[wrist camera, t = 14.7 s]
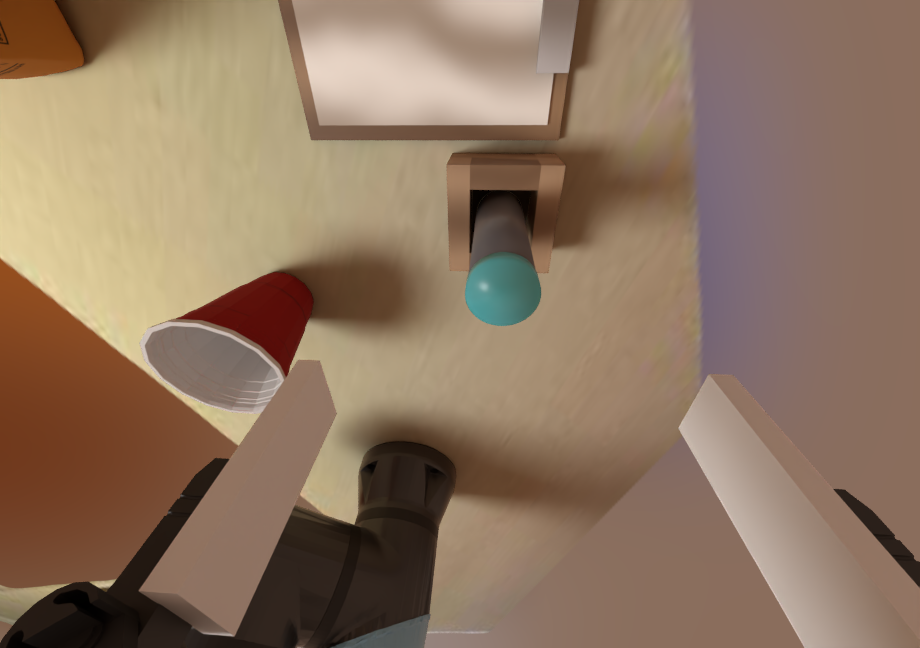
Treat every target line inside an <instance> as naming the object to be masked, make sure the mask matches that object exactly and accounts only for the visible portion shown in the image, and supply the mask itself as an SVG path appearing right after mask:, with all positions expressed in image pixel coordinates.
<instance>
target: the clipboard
mask: <svg viewBox="0 0 920 648" xmlns="http://www.w3.org/2000/svg"><path fill="white" fill-rule="evenodd" d="M278 2H279V6H280V11H281V15H282V19H283V23H284V27H285V32H286V36H287V40H288V44H289V48H290V53H291V57H292V61H293V65H294V69H295V74H296V78H297V82H298V86H299V90H300V95H301V99H302V103H303V107H304V111H305V116H306V120H307V124H308V128H309V133H310V137H311V140H559V134H560V127H561V120H562V113H563V107H564V100H565V93H566V86H567V79H568V73H569V67H570V60H571V53H572V47H573V40H574V33H575V26H576V19H577V12H578V5H579V0H278Z"/></svg>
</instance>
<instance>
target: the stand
mask: <svg viewBox="0 0 920 648" xmlns="http://www.w3.org/2000/svg"><path fill="white" fill-rule="evenodd" d="M565 167H566V165H565V164H564V163H563V162H562V161H561V160H560V159H559V157H558V156H557V155H556V154H497V153H453V154H452V155H451V157H450V159H449V161H448V163H447V196H448V230H449V264H450V271H469V267H470V260H471V252H472V244H473V237H474V232H472V190H530V198H529V207H528V216H527V225H526V228H527V232H528V237H529V242H530V246H531V251H532V255H533V260H534V264H535V269H536V272H537V273H548V272H549V266H550V259H551V253H552V247H553V241H554V235H555V229H556V222H557V216H558V210H559V204H560V198H561V192H562V185H563V179H564V173H565Z"/></svg>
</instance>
